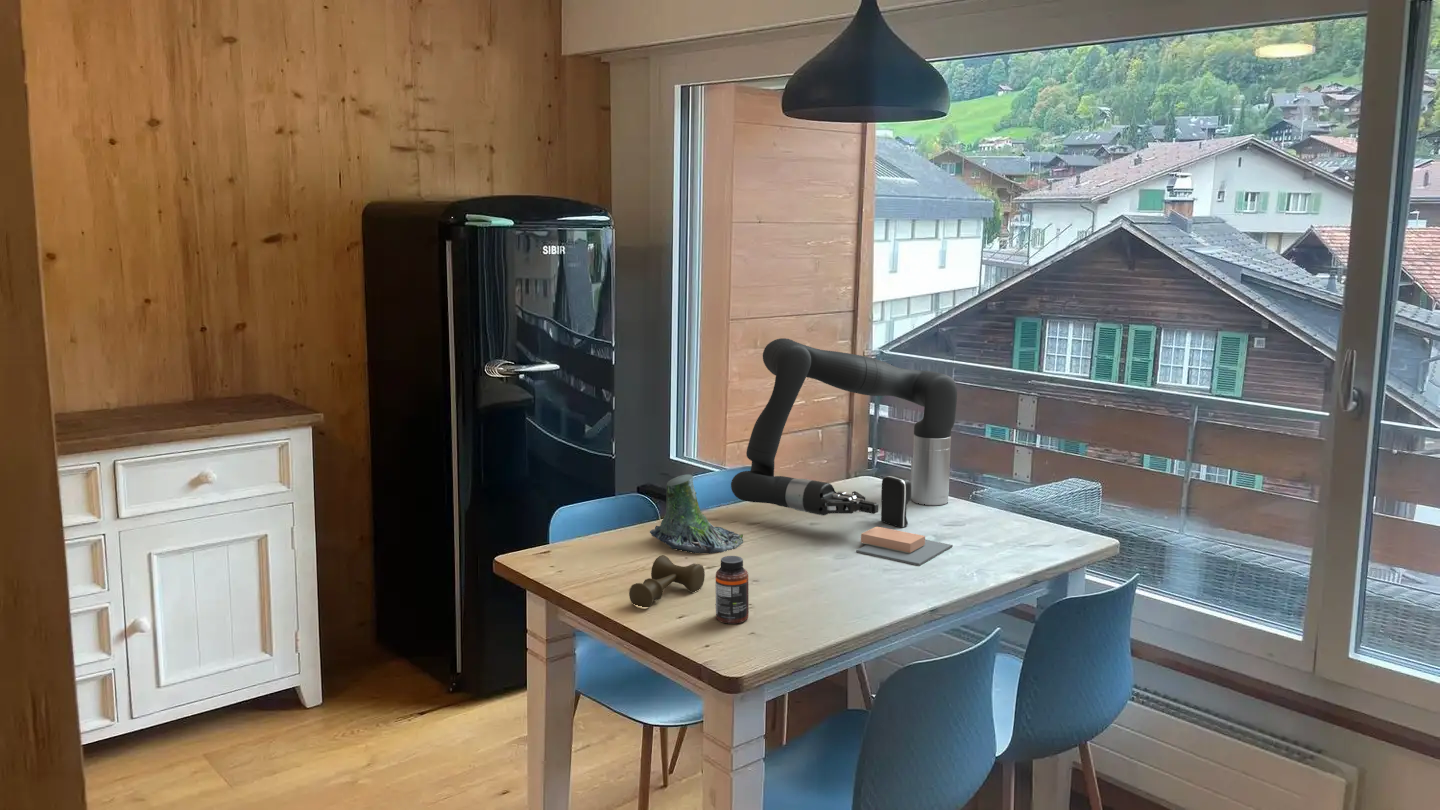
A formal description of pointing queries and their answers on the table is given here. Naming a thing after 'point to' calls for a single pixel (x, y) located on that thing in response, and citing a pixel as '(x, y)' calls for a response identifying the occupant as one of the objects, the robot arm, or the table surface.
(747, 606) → the supplement bottle
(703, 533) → the tree stump
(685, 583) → the kendama
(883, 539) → the tile
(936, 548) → the mat
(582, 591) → the table surface
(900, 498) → the battery charger
